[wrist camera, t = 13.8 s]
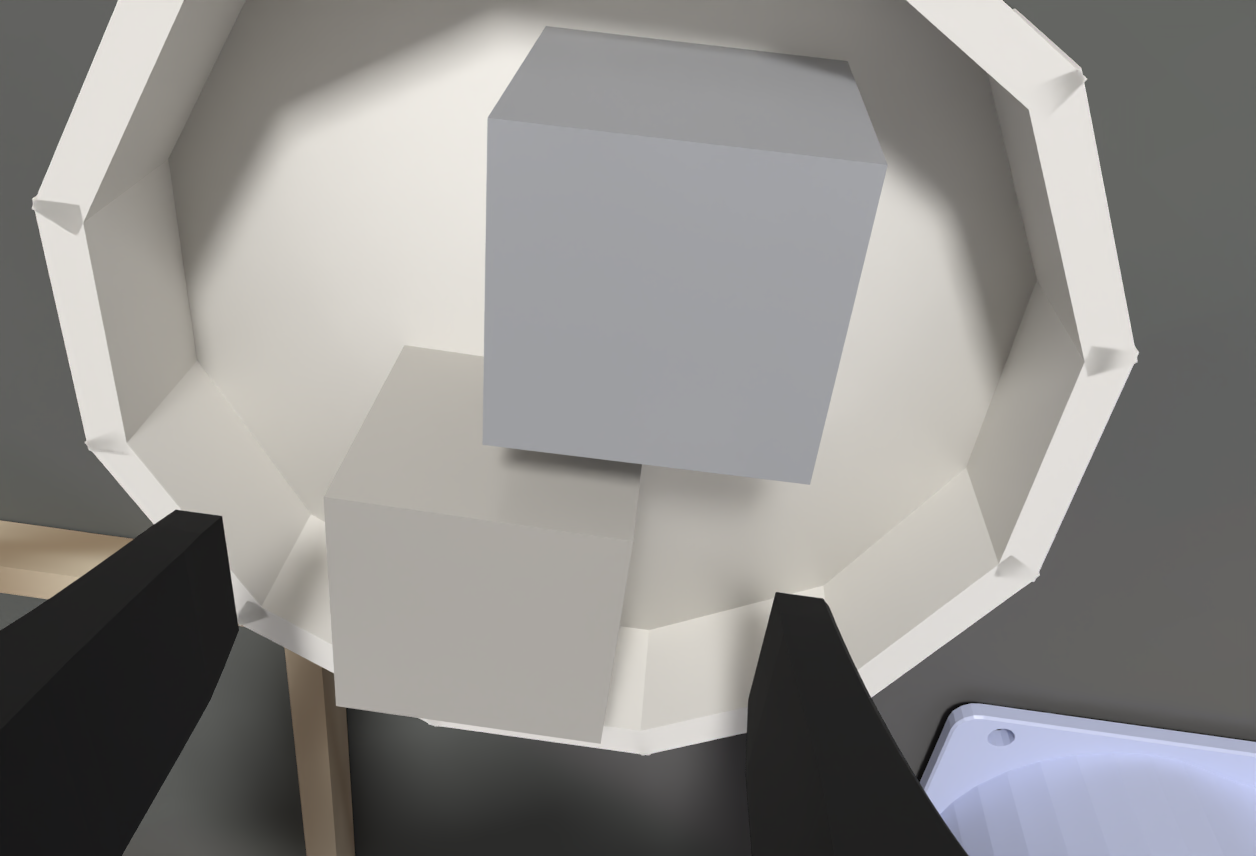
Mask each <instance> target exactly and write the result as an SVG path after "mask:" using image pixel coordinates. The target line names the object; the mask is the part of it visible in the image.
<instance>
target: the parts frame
mask: <svg viewBox="0 0 1256 856" xmlns="http://www.w3.org/2000/svg"><path fill="white" fill-rule="evenodd" d="M132 540H133V539H130V538H123V537H116V536H108V535H101V534H94V533H87V532H80V531H73V530H65V529H58V528H51V527H44V526H37V525H29V524H22V523H15V522H8V521H1V520H0V593H7V594H14V595H22V596H29V597H36V598H43V599H50V598H51V597H52V596H54V595H55V594H57V593H58V592H60V591H61V590H63V589H64V588H65V587H67V586H68V585H70V584H71V583H73V582H74V581H76V580H77V579H78V578H80V577H81V576H83V575H84V574H86V573H87V572H88V571H90V570H91V569H93V568H94V567H95V566H97V565H98V564H100V563H101V562H102V561H104V560H105V559H107V558H108V557H109V556H111V555H112V554H114V553H115V552H116V551H118V550H119V549H121V548H122V547H123V546H125V545H126V544H128V543H129V542H130V541H132ZM238 626H243V625H239V624H238ZM244 627H245V626H244ZM284 648H285V647H284ZM285 657H286V667H287V676H288V685H289V695H290V704H291V714H292V723H293V732H294V742H295V751H296V761H297V770H298V779H299V789H300V798H301V807H302V817H303V826H304V836H305V845H306V854H307V856H355V846H354V830H353V814H352V797H351V781H350V765H349V748H348V732H347V716H346V707H339V706H336V696H335V680H334V673H332V672H330V671H328V670H327V669H325V668H323V667H321V666H319V665H317V664H315V663H313V662H311V661H309V660H307V659H306V658H304V657H302V656H300V655H298V654H296V653H294V652H292V651H290V650H288V649H287V648H285Z"/></svg>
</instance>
